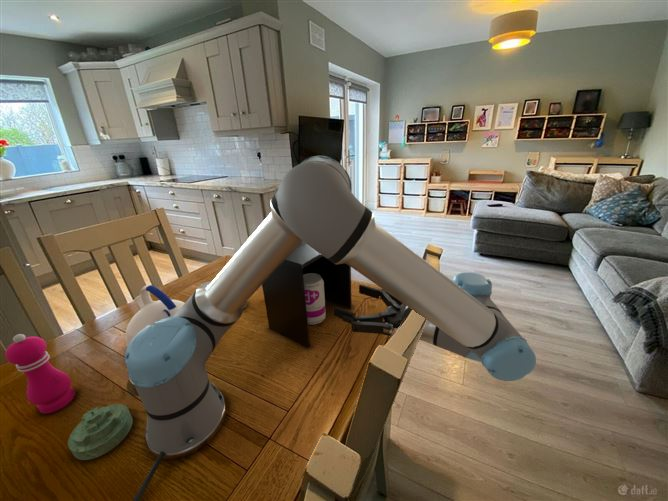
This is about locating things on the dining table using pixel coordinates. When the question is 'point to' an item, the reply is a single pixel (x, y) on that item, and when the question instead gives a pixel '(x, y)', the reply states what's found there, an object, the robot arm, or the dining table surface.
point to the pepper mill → (40, 374)
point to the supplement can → (314, 298)
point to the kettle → (151, 310)
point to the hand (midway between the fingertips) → (347, 299)
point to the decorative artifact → (100, 431)
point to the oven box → (302, 291)
